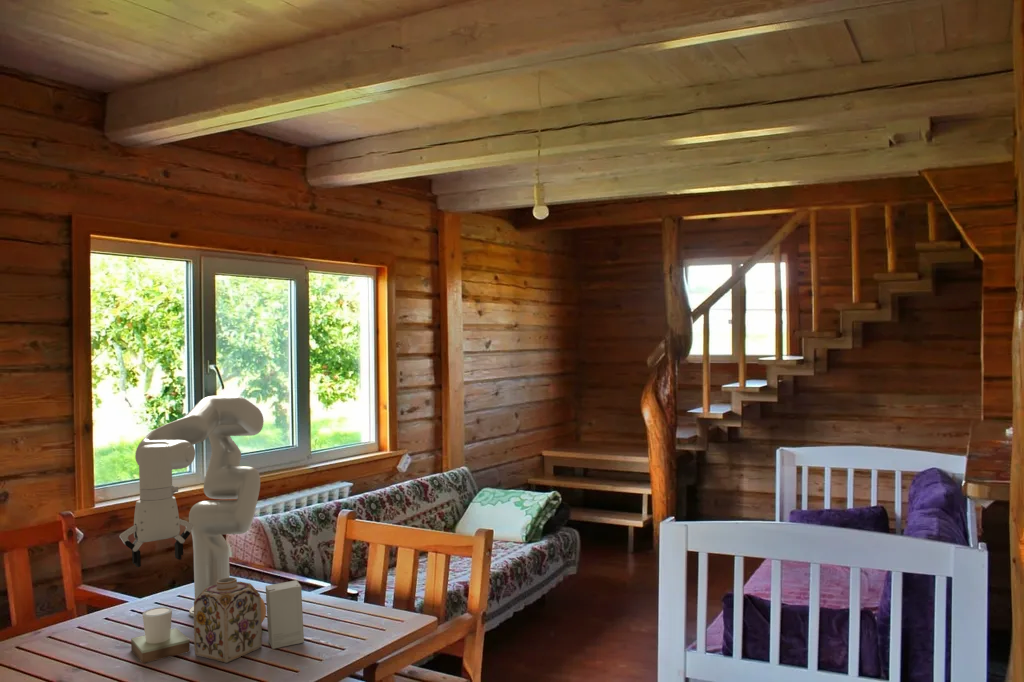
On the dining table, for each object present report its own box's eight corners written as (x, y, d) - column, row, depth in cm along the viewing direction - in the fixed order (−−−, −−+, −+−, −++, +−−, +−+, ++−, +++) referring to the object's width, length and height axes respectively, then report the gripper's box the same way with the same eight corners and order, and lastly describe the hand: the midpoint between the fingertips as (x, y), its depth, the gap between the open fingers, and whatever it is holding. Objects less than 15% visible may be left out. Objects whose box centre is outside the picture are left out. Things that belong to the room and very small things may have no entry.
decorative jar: (226, 664, 195) (224, 589, 195) (193, 656, 200) (191, 583, 200) (264, 647, 205) (262, 575, 205) (231, 640, 211) (229, 570, 211)
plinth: (177, 639, 212) (176, 627, 212) (189, 651, 203) (189, 639, 203) (131, 650, 205) (131, 638, 205) (142, 663, 197) (142, 650, 197)
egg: (262, 621, 225) (261, 588, 225) (269, 628, 219) (269, 594, 219) (237, 626, 221) (236, 593, 221) (244, 633, 215) (243, 599, 215)
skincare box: (299, 636, 212) (298, 579, 212) (304, 643, 207) (303, 585, 207) (266, 642, 209) (265, 584, 208) (270, 650, 203) (269, 590, 203)
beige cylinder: (161, 645, 200) (160, 616, 200) (137, 643, 202) (136, 615, 201) (178, 635, 207) (178, 607, 207) (154, 633, 208) (154, 606, 208)
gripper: (187, 487, 213) (189, 553, 213) (115, 496, 202) (117, 566, 202) (196, 491, 207) (198, 558, 207) (122, 501, 196) (124, 572, 196)
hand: (158, 562), depth 204 cm, fingers open, 9 cm apart
